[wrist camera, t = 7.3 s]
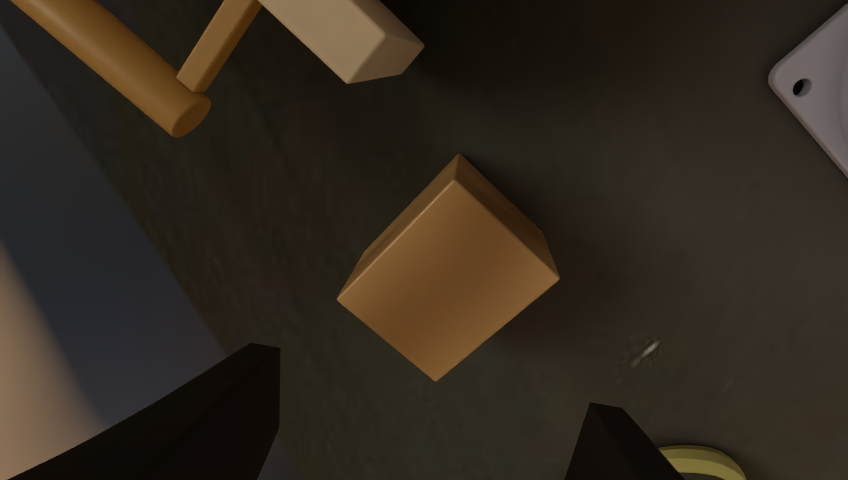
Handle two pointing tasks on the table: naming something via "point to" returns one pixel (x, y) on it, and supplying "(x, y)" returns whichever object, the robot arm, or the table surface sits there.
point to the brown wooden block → (449, 270)
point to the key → (702, 461)
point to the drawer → (224, 48)
